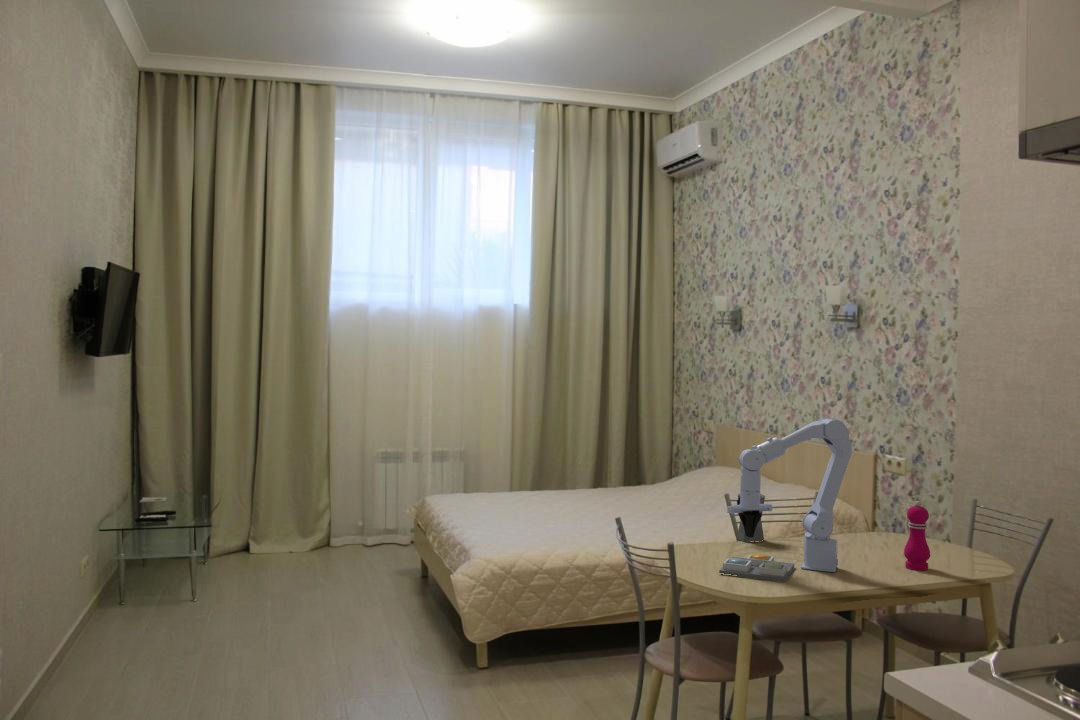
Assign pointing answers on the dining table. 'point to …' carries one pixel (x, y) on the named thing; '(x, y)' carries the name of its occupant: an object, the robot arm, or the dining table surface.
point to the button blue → (737, 561)
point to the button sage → (773, 565)
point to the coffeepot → (758, 531)
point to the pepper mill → (917, 539)
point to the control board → (758, 569)
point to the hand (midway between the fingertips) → (749, 536)
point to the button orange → (760, 556)
